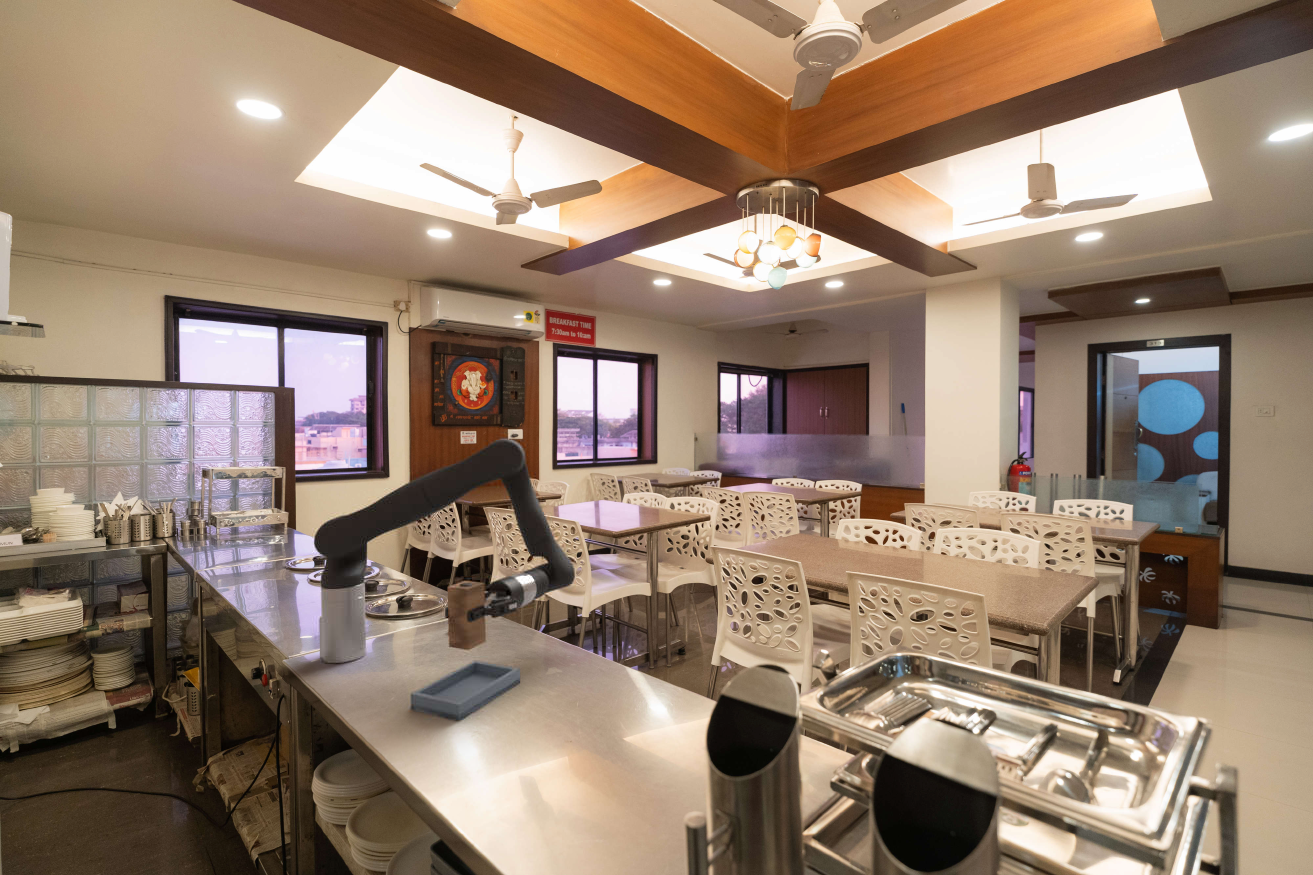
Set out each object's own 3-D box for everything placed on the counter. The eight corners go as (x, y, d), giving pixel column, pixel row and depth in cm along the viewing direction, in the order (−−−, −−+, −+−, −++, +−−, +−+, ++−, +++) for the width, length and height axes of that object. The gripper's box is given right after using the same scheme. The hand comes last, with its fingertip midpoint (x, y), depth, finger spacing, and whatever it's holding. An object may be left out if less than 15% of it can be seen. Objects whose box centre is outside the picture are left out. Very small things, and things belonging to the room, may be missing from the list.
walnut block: (449, 646, 121) (447, 586, 120) (466, 638, 125) (465, 579, 125) (468, 650, 119) (467, 588, 118) (485, 641, 123) (484, 582, 123)
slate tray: (411, 709, 116) (410, 693, 116) (475, 673, 133) (475, 660, 133) (459, 720, 111) (459, 704, 111) (520, 682, 128) (519, 668, 128)
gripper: (485, 573, 138) (429, 592, 122) (538, 578, 132) (485, 600, 116) (486, 605, 138) (430, 629, 122) (538, 613, 132) (486, 638, 116)
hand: (457, 615), depth 119 cm, fingers closed on walnut block, 5 cm apart
